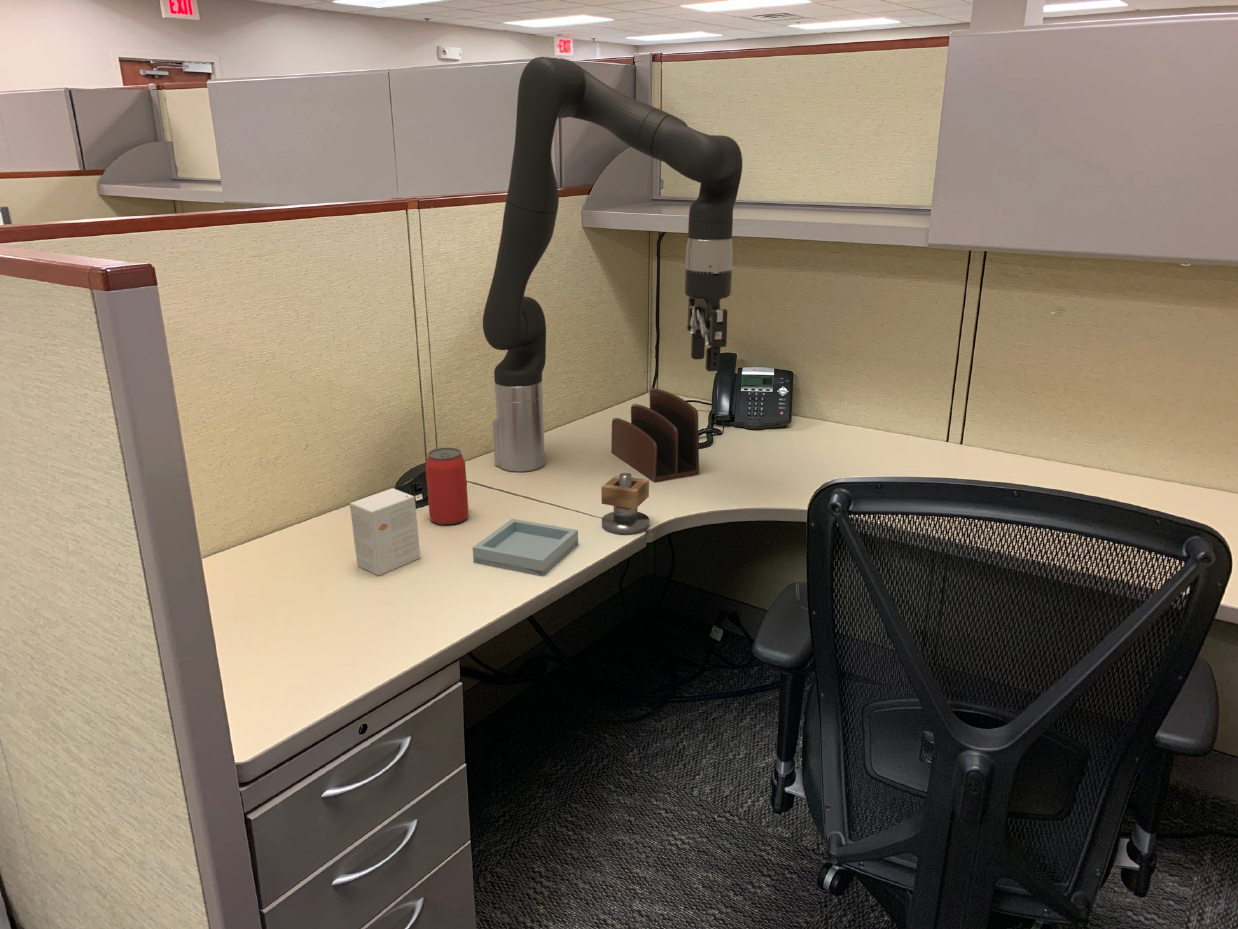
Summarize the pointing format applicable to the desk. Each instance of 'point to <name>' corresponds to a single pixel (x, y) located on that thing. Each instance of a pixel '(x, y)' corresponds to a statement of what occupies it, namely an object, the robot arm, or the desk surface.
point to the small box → (385, 531)
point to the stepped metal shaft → (625, 515)
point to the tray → (526, 546)
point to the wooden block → (625, 493)
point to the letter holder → (659, 438)
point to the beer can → (446, 486)
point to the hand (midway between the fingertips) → (704, 364)
